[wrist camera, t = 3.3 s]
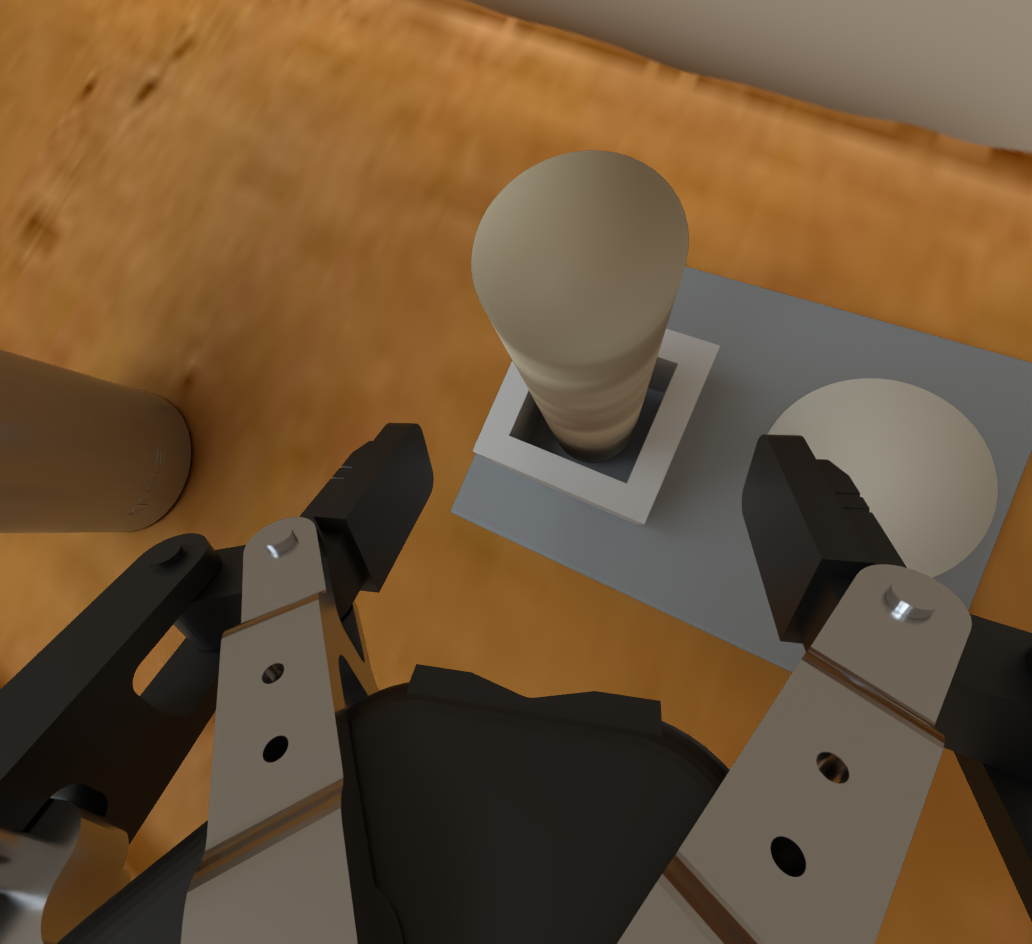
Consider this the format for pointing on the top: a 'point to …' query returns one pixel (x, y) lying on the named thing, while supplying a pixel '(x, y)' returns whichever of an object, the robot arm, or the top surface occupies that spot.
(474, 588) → the top surface
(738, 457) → the board
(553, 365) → the peg
